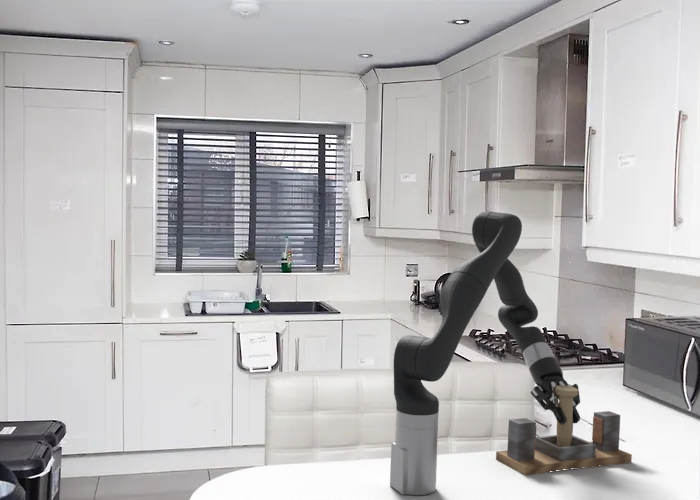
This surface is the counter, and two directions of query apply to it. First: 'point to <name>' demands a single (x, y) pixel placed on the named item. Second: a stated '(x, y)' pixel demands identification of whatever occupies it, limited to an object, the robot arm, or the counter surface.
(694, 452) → the counter surface
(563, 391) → the handle
